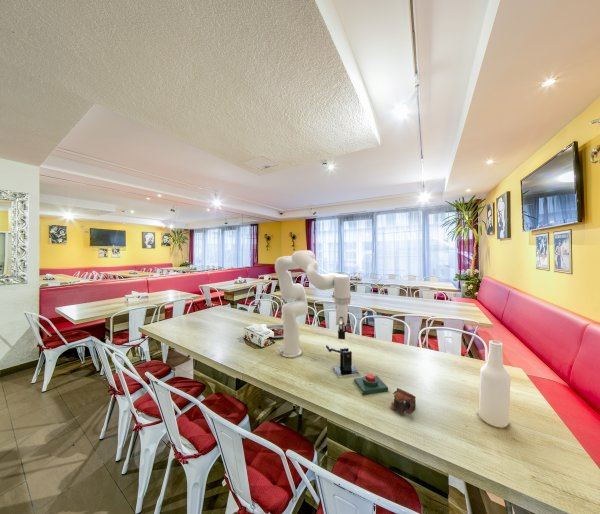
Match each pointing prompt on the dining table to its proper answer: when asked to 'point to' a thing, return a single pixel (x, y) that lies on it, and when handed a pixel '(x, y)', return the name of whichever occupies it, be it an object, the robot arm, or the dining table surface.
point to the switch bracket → (345, 363)
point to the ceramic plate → (277, 330)
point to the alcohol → (494, 388)
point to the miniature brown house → (399, 402)
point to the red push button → (370, 377)
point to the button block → (371, 385)
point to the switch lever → (334, 350)
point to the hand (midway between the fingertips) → (342, 335)
